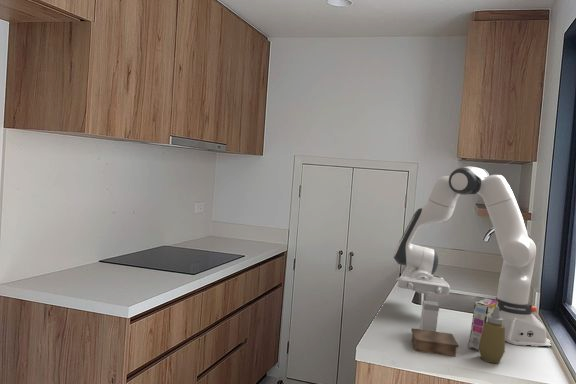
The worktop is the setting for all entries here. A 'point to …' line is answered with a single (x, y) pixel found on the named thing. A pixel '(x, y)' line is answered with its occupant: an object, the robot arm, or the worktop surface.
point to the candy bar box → (480, 320)
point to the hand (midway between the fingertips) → (425, 290)
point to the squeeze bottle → (493, 338)
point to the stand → (434, 342)
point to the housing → (429, 315)
